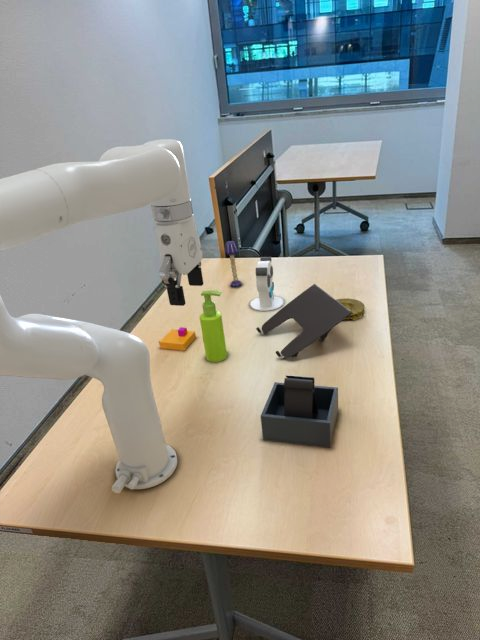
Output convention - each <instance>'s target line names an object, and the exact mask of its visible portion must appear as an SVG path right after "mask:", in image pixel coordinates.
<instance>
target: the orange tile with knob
mask: <svg viewBox="0 0 480 640" xmlns="http://www.w3.org/2000/svg"><path fill="white" fill-rule="evenodd" d="M196 338H197V335H196V331H195V330H194V331H193V330H188V329H187V327H182V326H181V327H179V328H178V329H173V328H172V329H170V331H169V332H167V333H166V334H165V336H163V338H161V340H159V341H158V343H159V348H160V349H163V350H172V351H182V352H185V351H186V350H187V348H188V347H189V346H190V345H191V344H192V343H193V342H194V341H195V339H196Z"/></svg>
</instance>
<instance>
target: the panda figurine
mask: <svg viewBox="0 0 480 640" xmlns="http://www.w3.org/2000/svg"><path fill="white" fill-rule="evenodd" d="M273 277H274V267H273V265H272V256H260V260H259V261H258V262H257V264H256V267H255V285H256V290H257V292H258V297H255V298H254V299H252V300H251V301H250V304H249V306H250V308H251V309H252V310H255V311H260V312H270V311H274V310H277V309H279V308H282V306H283V305H284V299H283V298H282V297H280V296H276V295H274V289H275V283H274V281H273Z"/></svg>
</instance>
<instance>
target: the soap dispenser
mask: <svg viewBox="0 0 480 640" xmlns="http://www.w3.org/2000/svg"><path fill="white" fill-rule="evenodd" d="M222 294H223V291H220V290H213V289H212V290H211V289H210V290H202V291H201V293H200V296H201V297H203V298H204V302H202V305H201V306H202V311H203V312H201V314H199V322H200V327H201V334H202V340H203V345H204V351H205V357H206V358H205V359H206V360H207V361H209V362H212V363H218V362H222V361H224V360H225V359H227V357H228V352H227V344H226V339H225V333H224V331H225V330H224V324H223V317H222V312H220V311H219V310H217V308H216V302H215V301H213V300H212V296H215V297H220V296H222Z"/></svg>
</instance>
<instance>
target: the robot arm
mask: <svg viewBox="0 0 480 640" xmlns="http://www.w3.org/2000/svg"><path fill="white" fill-rule="evenodd" d="M191 197H192V196H191V191H190V185H189V178H188V172H187V165H186V159H185V153H184V148H183V145H182V143H181V142H180V141H179V140H177V139H174V138H173V139H172V138H164V139H162V138H161V139H154V140H150V141H147V142H144V143H143V144H140V145H131V146H130V145H129V146H114V147H112V148H109V149H107V150H106V151H105V152H104V153H102V154H101V156H100V158H99V160H98V161H97V160H96V161H68V162H58V163H52V164H48V165H45V166H42V167H38V168H34V169H31V170H28V171H24V172H20V173H17V174H14V175H10V176H5V177H1V178H0V252H4V251H8V250H11V249H14V248H17V247H19V246H22V245H25V244H28V243H29V242H33V241H35V240H37V239H40V238H42V237H44V236H46V235H49V234H52V233H54V232H56V231H59V230H62V229H64V228H66V227H69V226H72V225H74V224H77V223H81V222H85V221H92V220H96V219H100V218H104V217H108V216H111V215H115V214H120V213H125V212H129V211H133V210H137V209H140V208H144V207H146V206H149V205H150V209H151V212H152V218H153V222H154V223H155V230H156V238H157V239H156V240H157V248H158V255H159V260H160V264H161V266H160V269H159V271H158V275H159V277H160V280H161V282H162V284H163V285H164V288H165V289H166V292H167V296H168V302H169V305H170V306H177V307H178V306H180V307H183V306H185V305H186V299H185V292H184V288H183V285H181V282H182V275H183V276H187V281H188V282H187V283H188V285H189V286H191V287H192V286H194V287H195V286H196V287H202V286H204V278H203V271H202V260H203V257H204V255H203V249H202V244H201V240H200V234H199V231H198V227H197V223H196V220H195V219H196V218H195V215H194V209H193V204H192V203H193V202H192V198H191ZM172 276H175V279H174V278H173V277H172ZM0 376H2V377H15V378H17V377H18V378H28V379H30V378H32V379H48V380H57V381H69V380H75V379H78V378H81V377H84V376H87V377H90V378H92V379H95V380H98V381H100V383H101V384H102V385H103V392H102V395H101V405H102V410H103V413H104V416H105V418H106V421H107V426H108V428H109V431H110V434H111V438H112V441H113V443H114V447H115V450H116V453H117V457H118V459H119V460H117V463H116V465H115V469H114V470H115V477H116V480H115V482H114V483H113V484H112V486H111V491H112V492H113V493H115V494H121V492H122V491H123V489H124V488H127V489H129V490H146V489H150V488H153V487H156V486H158V485H160V484H162V483H163V482H165V481H167V480H168V479H169V478H170V477H171V476H172V475H173V474H174V472H175V470H176V468H177V466H178V455H177V453H176V451H175V450H174V448H173V447H171V446H170V445H168V444H167V443H166V439H165V433H164V431H163V427H162V422H161V419H160V414H159V410H158V407H157V403H156V399H155V395H154V391H153V386H152V385H153V384H152V381H151V380H152V379H151V355H150V351H149V347H148V346H147V344H146V343H145V342H144V341H143V340H142V339H140V338H139V337H138V336H136V335H134V334H132V333H130V332H126V331H123V330H119V329H116V328H112V327H107V326H104V325H100V324H96V323H92V322H88V321H82V320H77V319H70V318H65V317H58V316H53V315H47V314H42V313H28V314H23V315H21V316H18V317H16V316H12V315H11V314H10V313H9V311H8V309H7V307H6V304H5V302H4V300H3V298H2V295H1V294H0Z"/></svg>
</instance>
